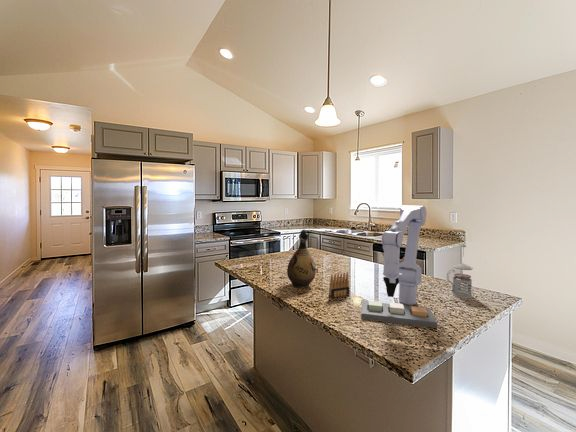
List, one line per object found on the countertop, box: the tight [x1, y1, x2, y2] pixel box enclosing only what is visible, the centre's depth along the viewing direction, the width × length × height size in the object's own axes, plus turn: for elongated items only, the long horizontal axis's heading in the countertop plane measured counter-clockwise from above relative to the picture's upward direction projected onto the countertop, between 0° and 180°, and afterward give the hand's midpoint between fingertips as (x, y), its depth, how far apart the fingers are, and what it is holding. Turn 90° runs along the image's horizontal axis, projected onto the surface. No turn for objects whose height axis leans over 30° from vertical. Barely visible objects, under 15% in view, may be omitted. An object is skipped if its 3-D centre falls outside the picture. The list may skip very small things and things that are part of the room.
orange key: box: [410, 305, 427, 317], centre depth 108 cm, size 5×5×3 cm
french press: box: [446, 243, 474, 299], centre depth 138 cm, size 10×12×25 cm
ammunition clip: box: [328, 272, 350, 299], centre depth 132 cm, size 11×2×12 cm, turn 116°
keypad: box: [360, 300, 438, 329], centre depth 110 cm, size 14×26×3 cm, turn 73°
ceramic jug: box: [286, 229, 317, 289], centre depth 151 cm, size 17×15×30 cm
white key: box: [388, 302, 404, 314], centre depth 110 cm, size 5×5×3 cm
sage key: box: [368, 300, 383, 312], centre depth 112 cm, size 5×5×3 cm
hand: (390, 296), depth 110 cm, fingers closed
